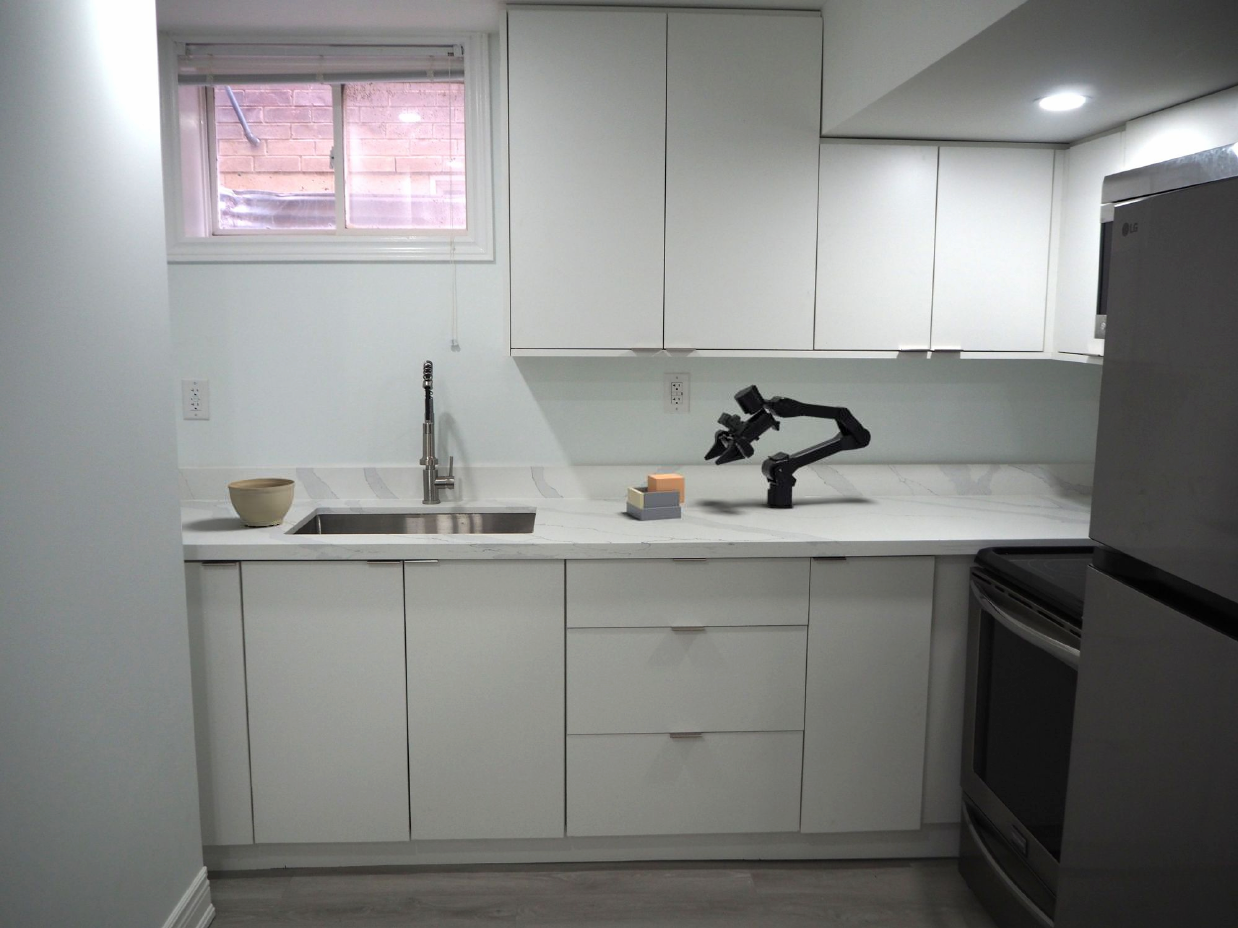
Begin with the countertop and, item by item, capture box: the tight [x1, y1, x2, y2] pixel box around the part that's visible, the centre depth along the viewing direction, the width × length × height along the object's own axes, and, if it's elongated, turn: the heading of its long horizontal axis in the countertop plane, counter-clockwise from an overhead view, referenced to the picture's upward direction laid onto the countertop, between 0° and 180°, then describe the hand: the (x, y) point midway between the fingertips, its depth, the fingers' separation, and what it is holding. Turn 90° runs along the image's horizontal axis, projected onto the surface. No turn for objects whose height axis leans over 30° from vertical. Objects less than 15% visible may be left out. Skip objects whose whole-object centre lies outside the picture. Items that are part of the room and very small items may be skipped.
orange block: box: [647, 473, 686, 505], centre depth 252 cm, size 8×7×7 cm
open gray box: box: [626, 486, 682, 522], centre depth 251 cm, size 11×12×7 cm
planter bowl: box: [227, 477, 296, 527], centre depth 240 cm, size 16×16×11 cm
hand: (710, 461), depth 257 cm, fingers open, 9 cm apart
